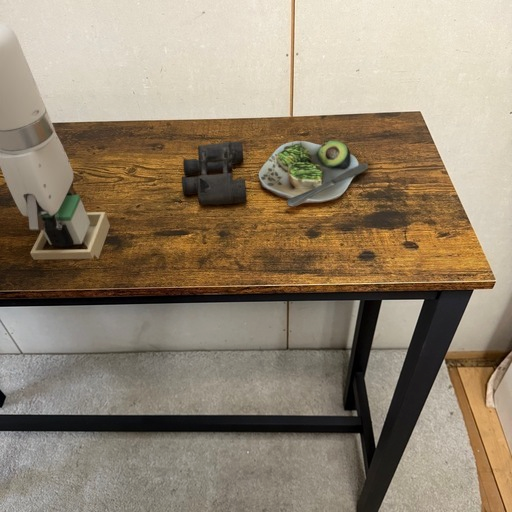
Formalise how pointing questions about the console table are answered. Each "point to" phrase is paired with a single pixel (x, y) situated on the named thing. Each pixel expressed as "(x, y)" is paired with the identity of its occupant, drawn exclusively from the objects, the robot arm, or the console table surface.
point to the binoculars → (219, 185)
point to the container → (72, 218)
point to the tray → (92, 240)
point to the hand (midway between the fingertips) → (69, 231)
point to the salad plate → (310, 171)
